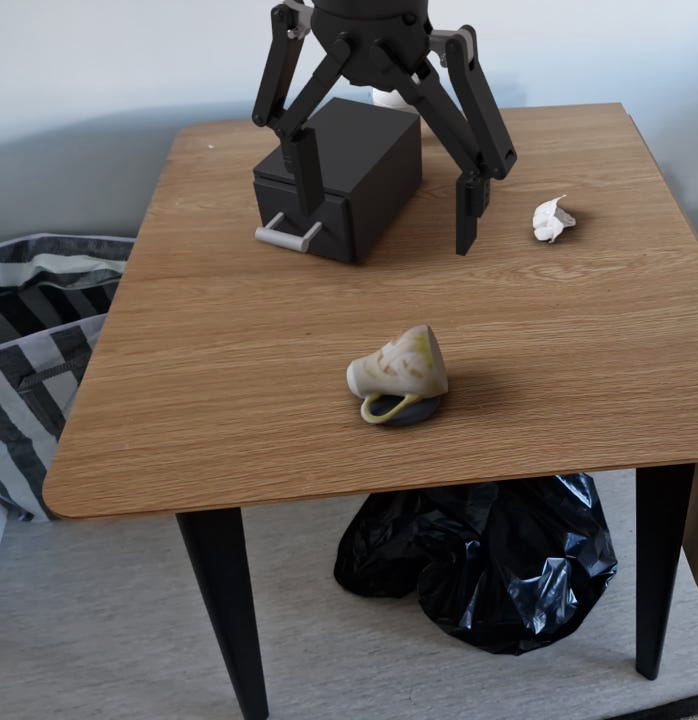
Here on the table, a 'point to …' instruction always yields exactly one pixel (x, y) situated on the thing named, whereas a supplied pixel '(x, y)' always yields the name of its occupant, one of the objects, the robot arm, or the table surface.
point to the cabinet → (362, 163)
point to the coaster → (407, 415)
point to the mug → (400, 372)
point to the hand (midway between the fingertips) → (387, 226)
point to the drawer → (302, 221)
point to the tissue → (550, 220)
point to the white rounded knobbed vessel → (393, 99)
